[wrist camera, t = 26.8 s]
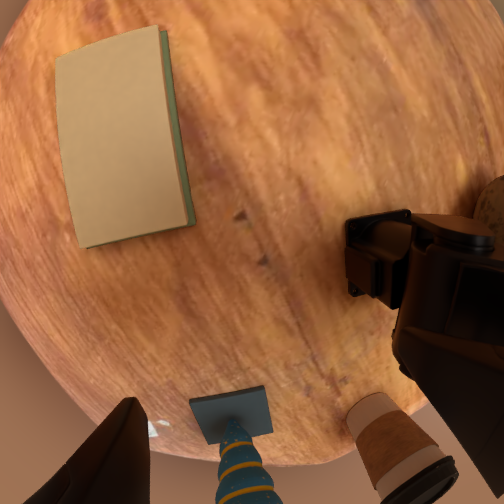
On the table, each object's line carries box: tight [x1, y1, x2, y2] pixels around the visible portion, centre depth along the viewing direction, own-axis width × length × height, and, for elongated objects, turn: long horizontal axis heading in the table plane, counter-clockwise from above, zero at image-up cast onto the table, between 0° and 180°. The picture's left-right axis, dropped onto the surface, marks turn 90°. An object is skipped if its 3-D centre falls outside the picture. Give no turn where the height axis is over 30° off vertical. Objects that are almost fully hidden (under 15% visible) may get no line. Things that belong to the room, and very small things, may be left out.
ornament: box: [215, 419, 283, 504], centre depth 17 cm, size 5×5×15 cm
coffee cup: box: [346, 393, 459, 504], centre depth 21 cm, size 8×8×15 cm
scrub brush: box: [55, 24, 196, 249], centre depth 16 cm, size 8×14×3 cm, turn 9°
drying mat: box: [189, 386, 273, 445], centre depth 25 cm, size 7×7×1 cm
